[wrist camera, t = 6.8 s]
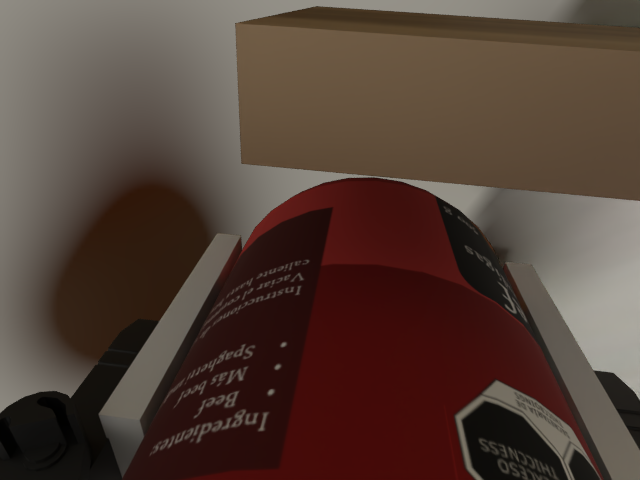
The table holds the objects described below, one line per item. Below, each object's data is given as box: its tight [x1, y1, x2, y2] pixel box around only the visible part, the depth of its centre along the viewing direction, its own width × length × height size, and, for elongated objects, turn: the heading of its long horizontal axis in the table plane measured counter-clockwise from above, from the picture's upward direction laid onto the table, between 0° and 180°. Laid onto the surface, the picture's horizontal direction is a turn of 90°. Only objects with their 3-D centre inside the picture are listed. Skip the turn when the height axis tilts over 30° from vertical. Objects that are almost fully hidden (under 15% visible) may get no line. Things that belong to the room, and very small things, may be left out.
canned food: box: [122, 178, 604, 480], centre depth 9 cm, size 8×8×11 cm
